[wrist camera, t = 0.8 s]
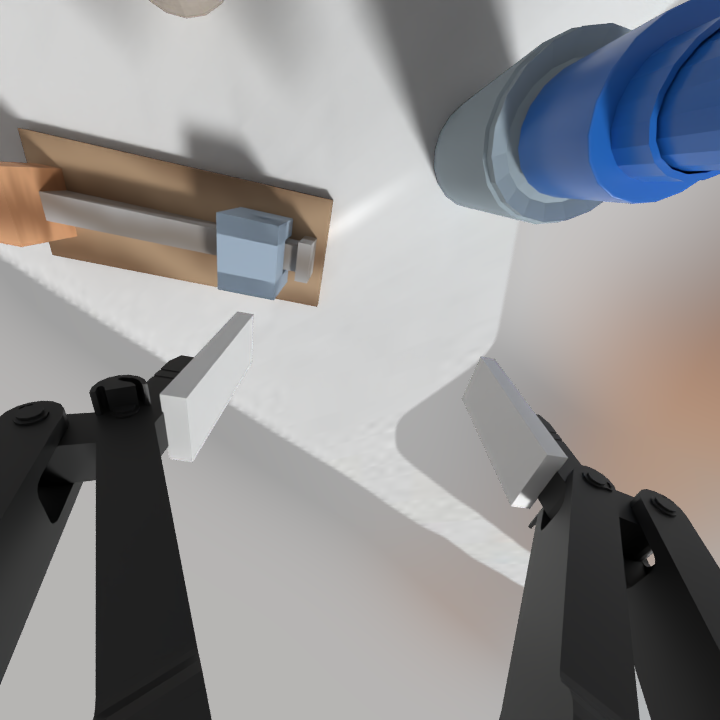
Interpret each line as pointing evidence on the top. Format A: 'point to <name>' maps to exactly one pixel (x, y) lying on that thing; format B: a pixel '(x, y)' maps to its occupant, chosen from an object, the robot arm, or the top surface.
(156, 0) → the mug
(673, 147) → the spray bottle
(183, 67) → the top surface
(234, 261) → the slider
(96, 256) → the rail board
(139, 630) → the robot arm
